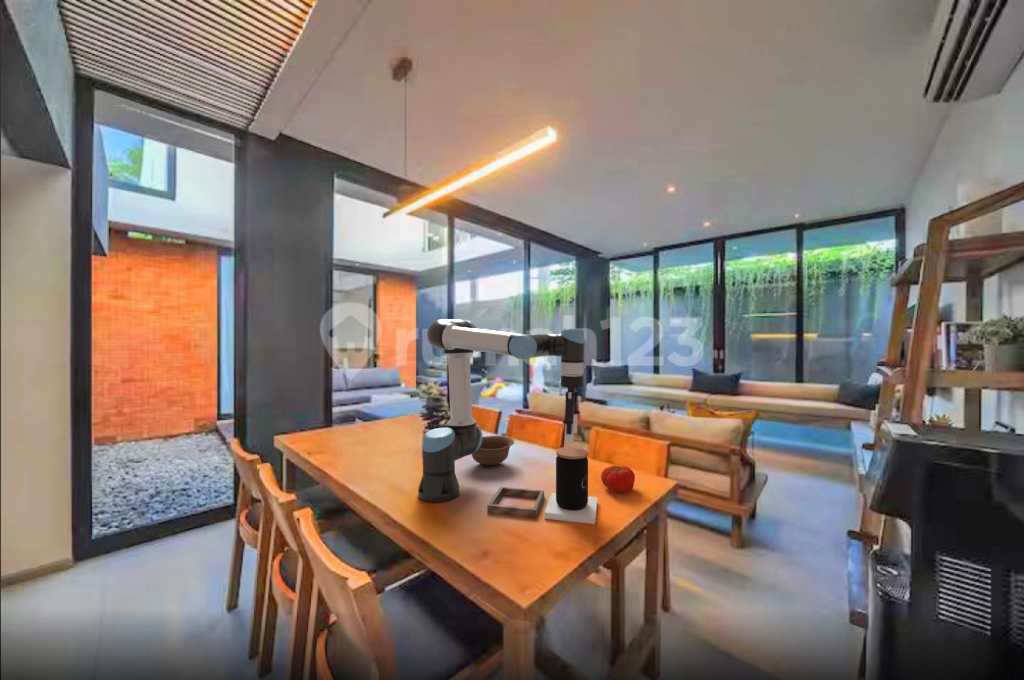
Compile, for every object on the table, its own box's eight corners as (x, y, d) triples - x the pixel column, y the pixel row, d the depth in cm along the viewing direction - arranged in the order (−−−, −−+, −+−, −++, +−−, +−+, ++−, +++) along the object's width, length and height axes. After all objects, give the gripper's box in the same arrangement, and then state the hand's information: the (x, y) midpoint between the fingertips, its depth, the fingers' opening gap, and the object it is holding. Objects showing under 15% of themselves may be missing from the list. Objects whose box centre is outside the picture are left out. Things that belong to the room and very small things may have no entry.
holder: (487, 512, 137) (487, 505, 137) (500, 493, 153) (500, 486, 153) (535, 517, 133) (535, 510, 133) (544, 497, 149) (544, 490, 149)
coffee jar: (587, 512, 132) (587, 457, 132) (554, 510, 134) (554, 455, 134) (588, 499, 143) (588, 447, 142) (557, 496, 145) (557, 445, 144)
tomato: (608, 481, 165) (608, 459, 164) (640, 488, 157) (640, 465, 157) (594, 492, 153) (594, 469, 153) (627, 500, 146) (627, 476, 146)
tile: (544, 518, 133) (544, 512, 133) (551, 498, 148) (551, 492, 148) (595, 524, 129) (595, 517, 129) (597, 502, 144) (597, 497, 144)
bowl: (471, 456, 196) (471, 433, 196) (517, 458, 193) (517, 435, 193) (459, 472, 175) (459, 446, 174) (510, 475, 172) (510, 448, 171)
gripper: (580, 380, 124) (579, 450, 125) (586, 371, 148) (585, 429, 149) (555, 379, 126) (554, 448, 127) (565, 370, 150) (564, 428, 151)
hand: (571, 438), depth 138 cm, fingers open, 13 cm apart
